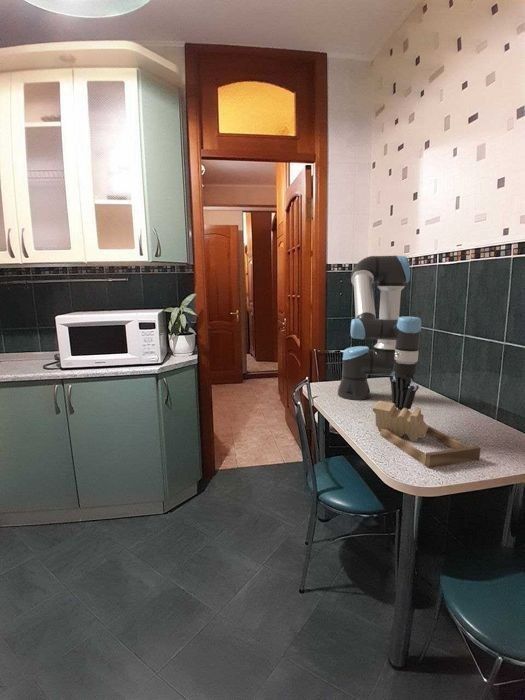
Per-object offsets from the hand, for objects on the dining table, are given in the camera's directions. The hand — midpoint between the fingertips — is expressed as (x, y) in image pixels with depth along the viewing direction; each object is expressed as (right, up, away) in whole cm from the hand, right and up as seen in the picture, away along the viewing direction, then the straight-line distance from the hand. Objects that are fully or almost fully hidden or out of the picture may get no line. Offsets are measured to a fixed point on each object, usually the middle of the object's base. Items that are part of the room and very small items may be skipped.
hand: (399, 425), depth 126 cm
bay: (+3, -4, -12) cm, 13 cm away
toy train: (-1, -2, -4) cm, 4 cm away
